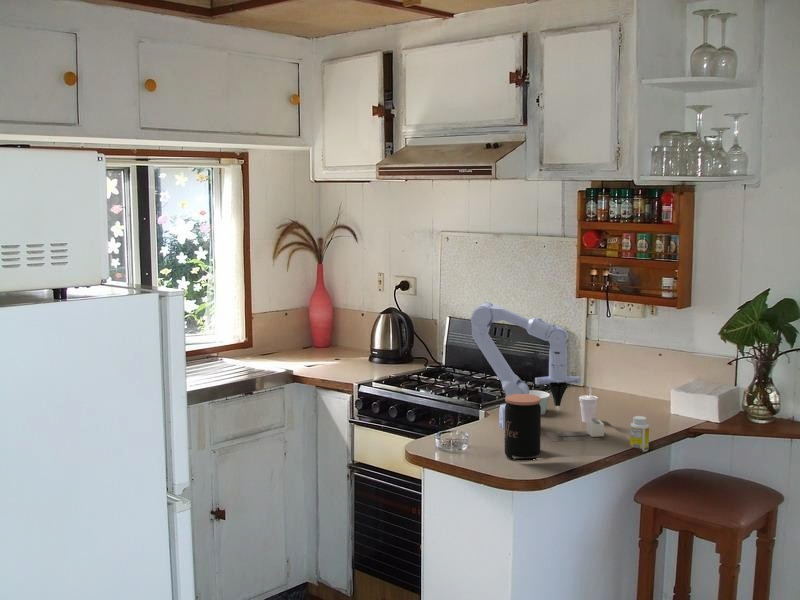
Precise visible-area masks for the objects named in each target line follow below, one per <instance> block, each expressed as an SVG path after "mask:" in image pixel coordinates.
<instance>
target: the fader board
mask: <svg viewBox="0 0 800 600" xmlns="http://www.w3.org/2000/svg"><path fill="white" fill-rule="evenodd" d="M545 435H546V436H547V437H548V438H549V439H550V440H551V441H552V442H553V443H554V442H557V443H558V442H579V441H580V442H582V441H587V442H588V441H602V440H603V441H606V440H607V441H611V440H613V438H612V437H610V436H609V434H607V433H606V432H605V431H604V436H595V437H591V436H590V435H589V434H588V433H587V430H586V431H584V430H583V431H558V432H557V431H555V432H545Z"/></svg>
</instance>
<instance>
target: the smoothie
mask: <svg viewBox="0 0 800 600" xmlns="http://www.w3.org/2000/svg"><path fill="white" fill-rule="evenodd" d="M578 401H579V404H580V414H581V421H582V423H586V424H587V420H592V418H595V419H596V413H597V412H596V411H597V405H598V401H599V397H598V396H596V395H592V384H589V395H588V394H583V395H580V396H579V397H578Z"/></svg>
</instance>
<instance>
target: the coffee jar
mask: <svg viewBox="0 0 800 600" xmlns="http://www.w3.org/2000/svg"><path fill="white" fill-rule="evenodd" d="M504 401H505V402H506V403H505V404H506V405H505V429H504V454H505V456H506V457H507V458H508V457H509V458H511V459H510V460H512V459H515V460H514V461H516V460H532V461H534V460H533V459H535V460H537V459H538V458H539V457H536V456H538V455H541V430H542V427H541V425H542V423H541V421H542V419H541V418H542V417H541V416H542V415H541V406H540V404H539V403H540V402H541V398H540V397H539V396H535V395H530V394H513V395H508V396H506V395H505V397H504ZM509 458H508V459H509ZM536 458H537V459H536Z"/></svg>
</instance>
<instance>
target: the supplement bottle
mask: <svg viewBox="0 0 800 600" xmlns="http://www.w3.org/2000/svg"><path fill="white" fill-rule="evenodd" d="M647 421H648V420H647V417H646V416H643V415H636V416H633V418H632V422H631V423H630V427H629V428H630V429H629V432H630V433H629V434H630V435H629V437H630V438H629V445H630V447H632V448H636V449H640V450H641V451H642V452H645V453H646V452H648V451H649V448H650V447H649V446H650V445H649V444H650V443H649V442H650V441H649V440H650V424H649V423H647Z"/></svg>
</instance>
